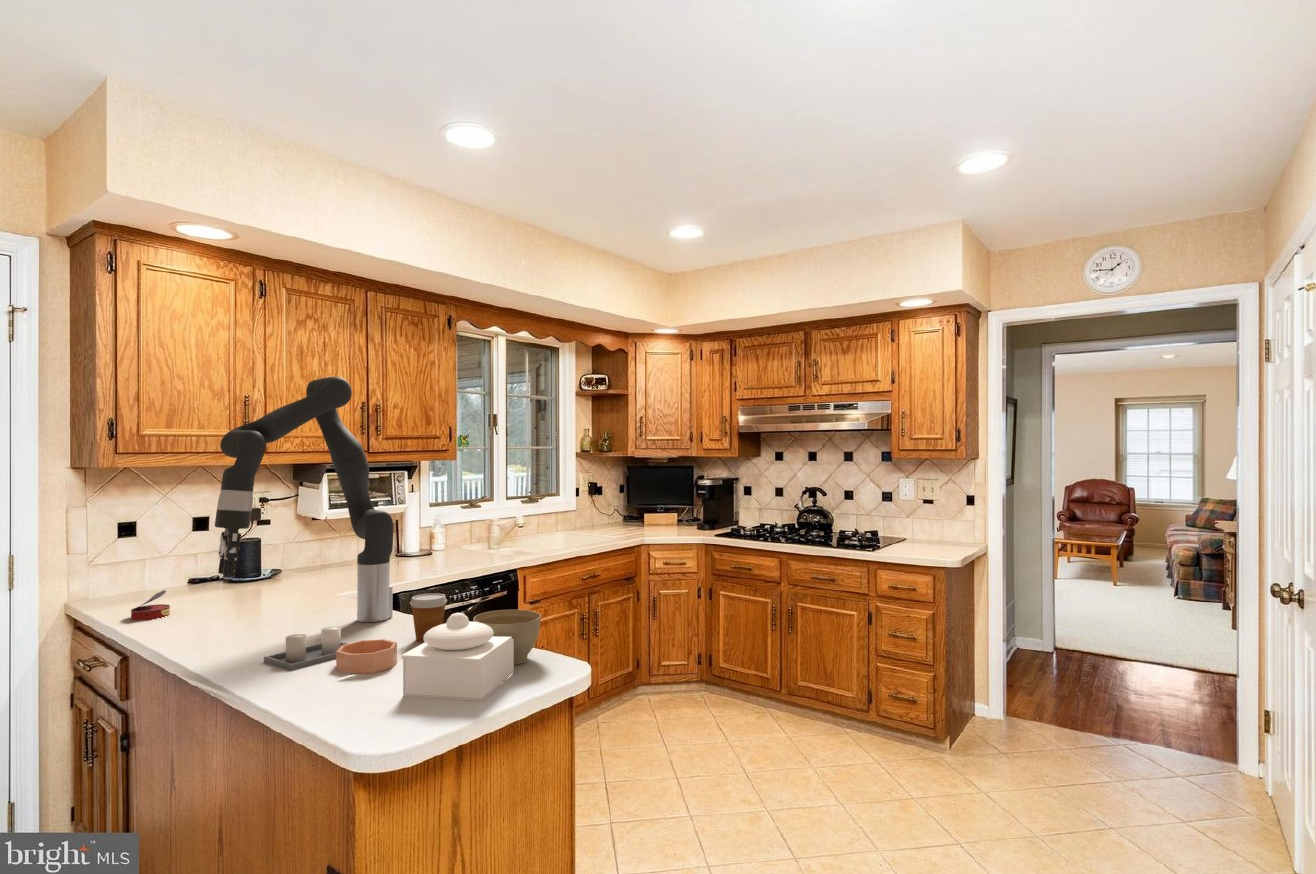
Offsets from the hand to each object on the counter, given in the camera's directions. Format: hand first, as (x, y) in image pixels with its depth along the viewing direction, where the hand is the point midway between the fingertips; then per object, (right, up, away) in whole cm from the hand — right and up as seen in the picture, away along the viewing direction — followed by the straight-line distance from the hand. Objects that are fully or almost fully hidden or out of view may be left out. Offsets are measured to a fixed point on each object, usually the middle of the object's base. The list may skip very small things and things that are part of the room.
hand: (225, 574), depth 173 cm
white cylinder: (+25, -20, +3) cm, 32 cm away
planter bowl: (+70, -21, -3) cm, 73 cm away
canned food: (-52, -22, +45) cm, 72 cm away
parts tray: (+22, -21, 0) cm, 30 cm away
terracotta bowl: (+38, -21, -6) cm, 43 cm away
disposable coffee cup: (+45, -21, +15) cm, 52 cm away
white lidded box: (+64, -21, -20) cm, 70 cm away
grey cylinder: (+20, -20, -4) cm, 28 cm away
